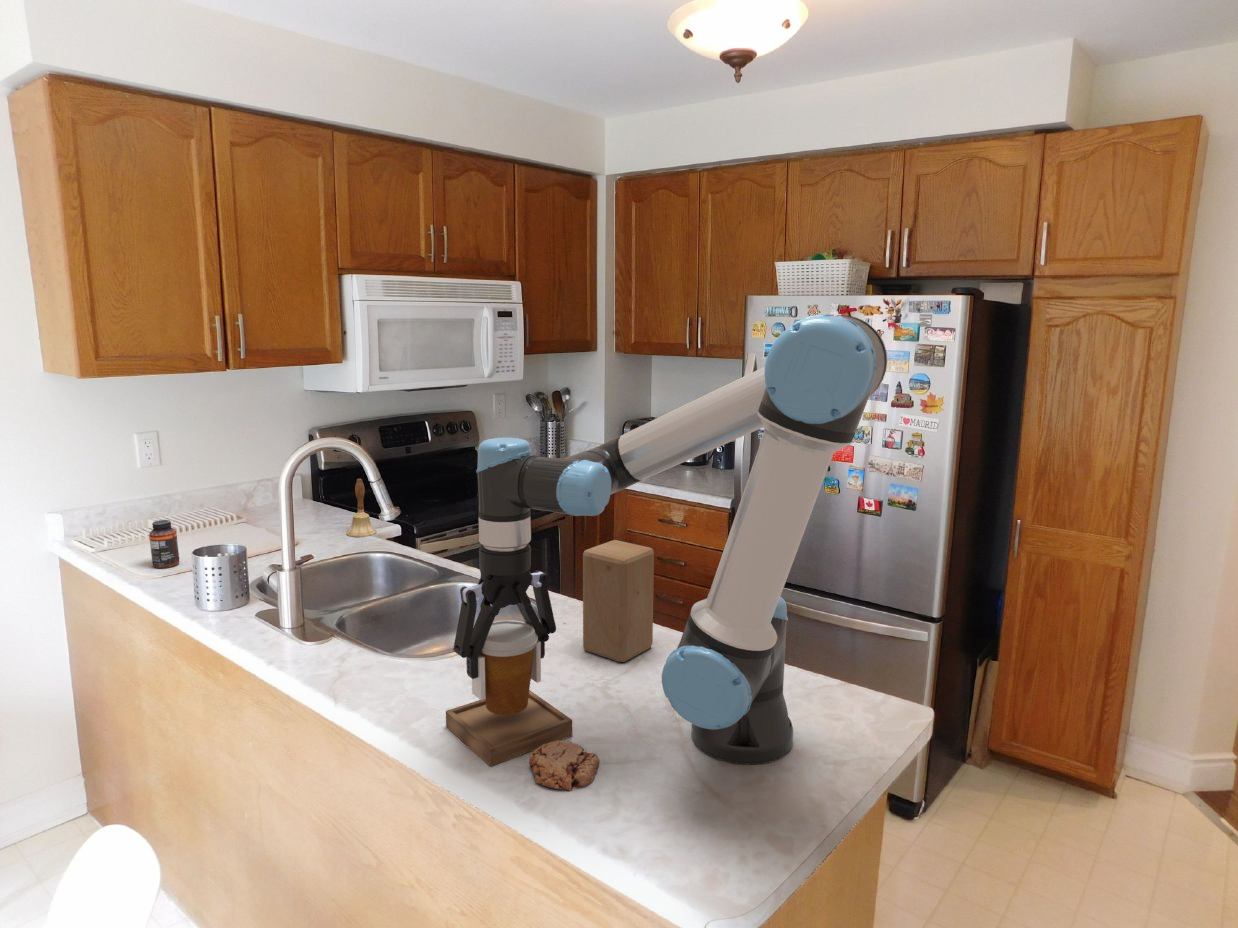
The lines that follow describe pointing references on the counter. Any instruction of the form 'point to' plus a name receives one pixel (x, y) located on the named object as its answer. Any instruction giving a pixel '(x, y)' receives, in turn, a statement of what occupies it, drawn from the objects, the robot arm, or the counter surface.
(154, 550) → the supplement bottle
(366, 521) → the hand bell
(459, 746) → the counter surface
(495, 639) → the disposable coffee cup
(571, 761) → the cookie
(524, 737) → the wooden tray
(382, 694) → the counter surface
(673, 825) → the counter surface
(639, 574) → the wooden block
